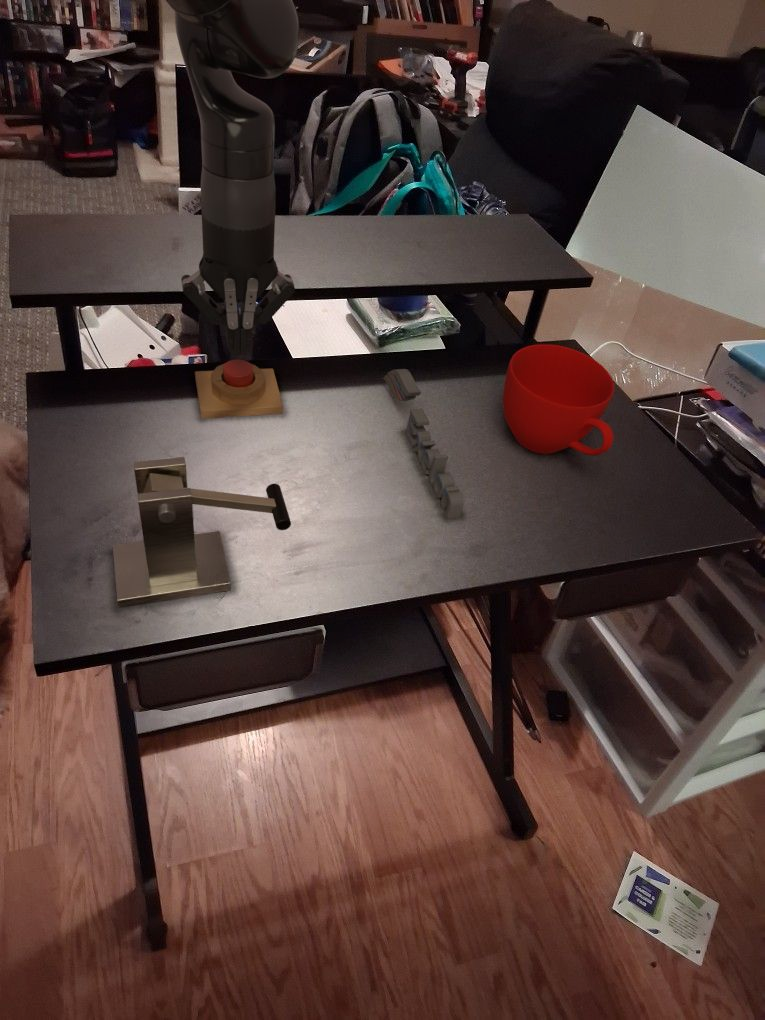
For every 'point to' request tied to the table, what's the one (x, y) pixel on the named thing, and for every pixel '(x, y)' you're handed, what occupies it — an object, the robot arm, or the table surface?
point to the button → (238, 373)
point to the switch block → (237, 394)
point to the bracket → (168, 545)
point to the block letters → (426, 444)
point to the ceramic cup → (556, 399)
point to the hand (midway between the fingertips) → (239, 350)
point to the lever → (228, 498)
